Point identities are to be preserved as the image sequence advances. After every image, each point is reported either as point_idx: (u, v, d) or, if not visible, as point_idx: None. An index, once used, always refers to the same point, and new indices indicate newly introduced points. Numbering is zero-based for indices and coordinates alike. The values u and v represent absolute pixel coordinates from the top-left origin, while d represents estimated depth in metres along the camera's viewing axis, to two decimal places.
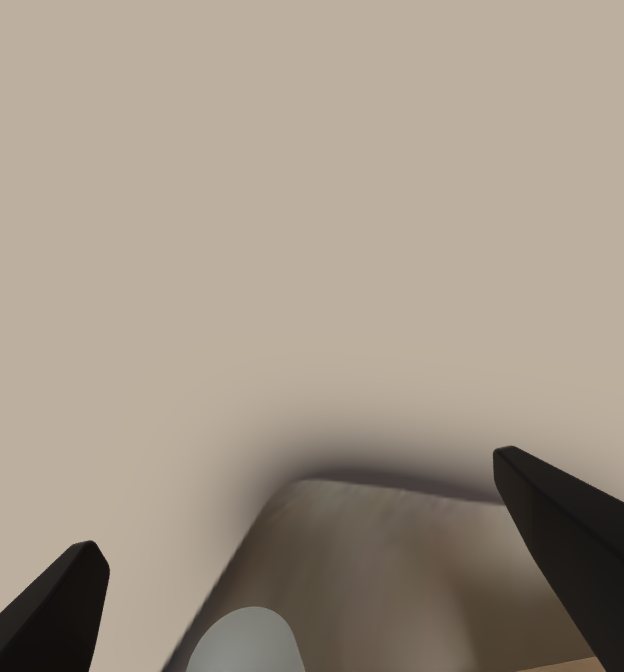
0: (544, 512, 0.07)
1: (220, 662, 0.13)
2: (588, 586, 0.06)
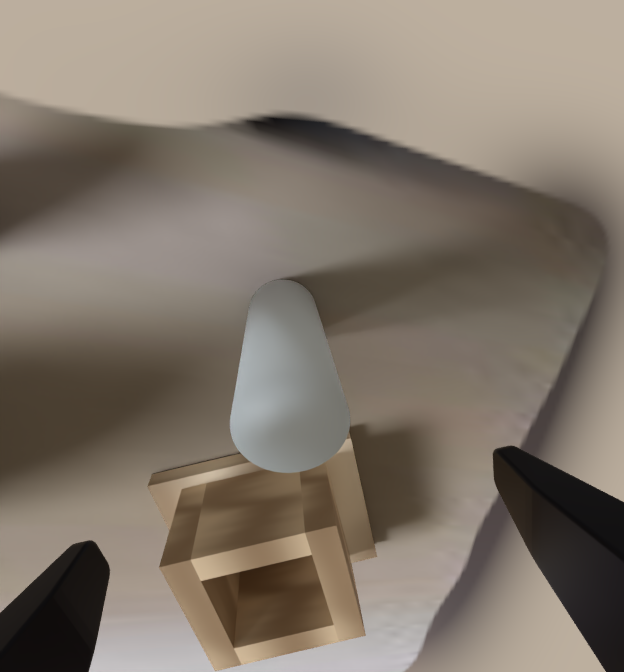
0: (544, 512, 0.07)
1: (292, 404, 0.11)
2: (588, 586, 0.06)
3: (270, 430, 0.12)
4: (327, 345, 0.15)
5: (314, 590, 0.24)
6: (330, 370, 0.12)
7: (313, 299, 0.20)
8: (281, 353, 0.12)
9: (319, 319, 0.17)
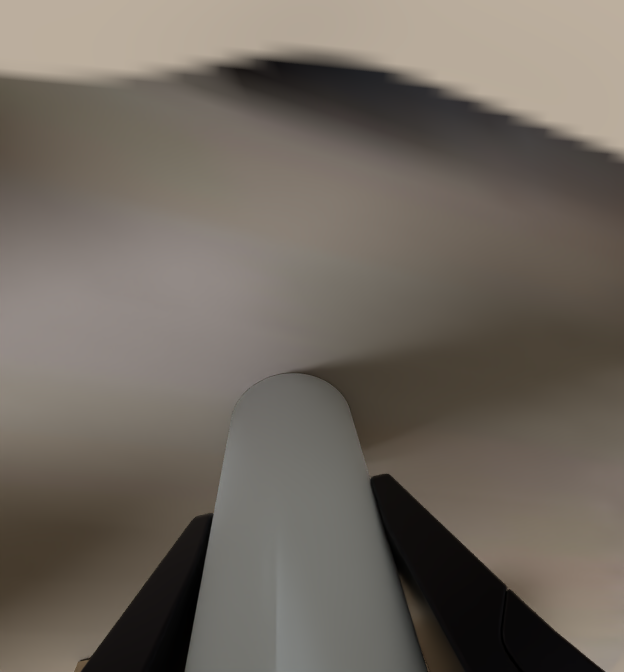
0: (393, 546, 0.07)
1: None
2: (421, 623, 0.06)
3: None
4: (415, 640, 0.06)
5: None
6: None
7: (348, 410, 0.11)
8: None
9: (371, 491, 0.08)
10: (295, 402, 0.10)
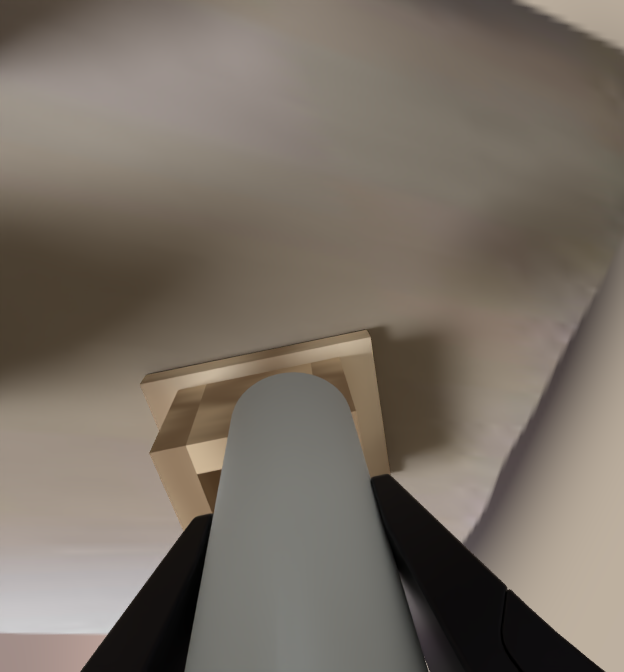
0: (393, 546, 0.07)
1: None
2: (421, 623, 0.06)
3: None
4: (415, 638, 0.06)
5: None
6: None
7: (348, 409, 0.11)
8: None
9: (372, 490, 0.08)
10: (295, 401, 0.10)
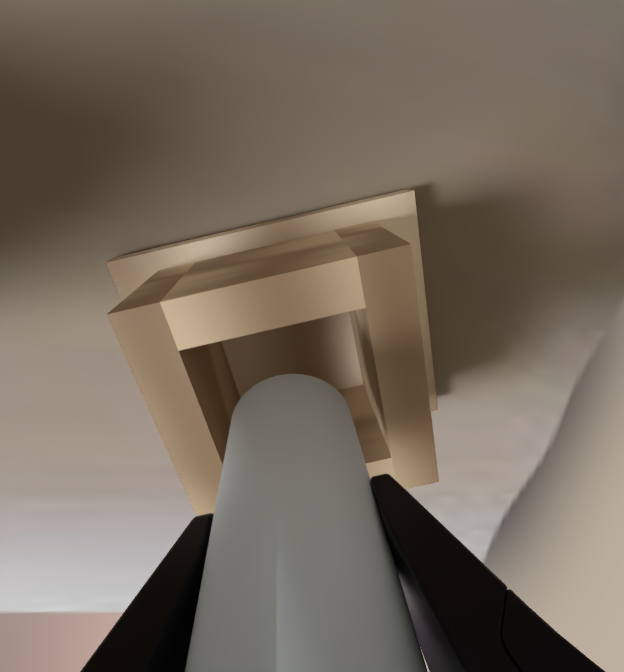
0: (393, 546, 0.07)
1: None
2: (421, 623, 0.06)
3: None
4: (415, 641, 0.06)
5: (355, 426, 0.16)
6: None
7: (348, 411, 0.11)
8: None
9: (371, 492, 0.08)
10: (295, 403, 0.10)
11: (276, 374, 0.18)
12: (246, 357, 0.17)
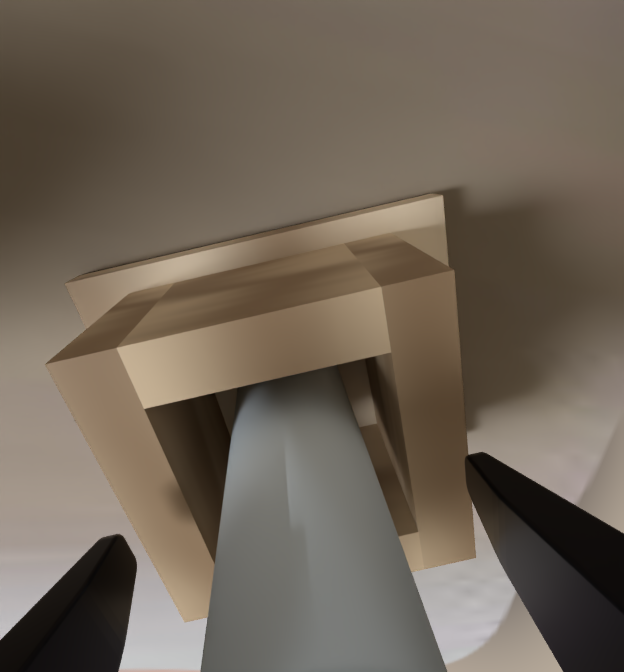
0: (509, 520, 0.07)
1: None
2: (549, 595, 0.06)
3: None
4: (378, 484, 0.08)
5: None
6: (409, 598, 0.06)
7: None
8: (304, 565, 0.06)
9: (351, 410, 0.11)
10: None
11: None
12: None
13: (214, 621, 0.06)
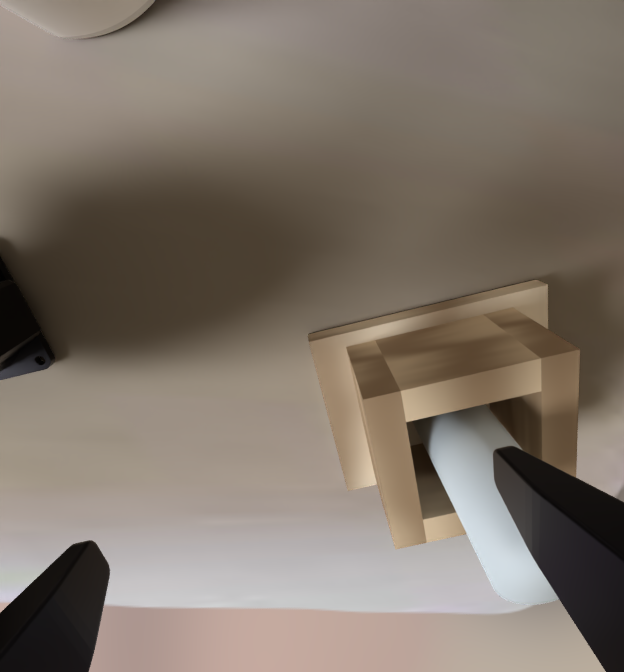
0: (544, 512, 0.07)
1: None
2: (588, 586, 0.06)
3: (526, 572, 0.13)
4: None
5: None
6: None
7: None
8: None
9: None
10: None
11: None
12: None
13: (485, 519, 0.13)
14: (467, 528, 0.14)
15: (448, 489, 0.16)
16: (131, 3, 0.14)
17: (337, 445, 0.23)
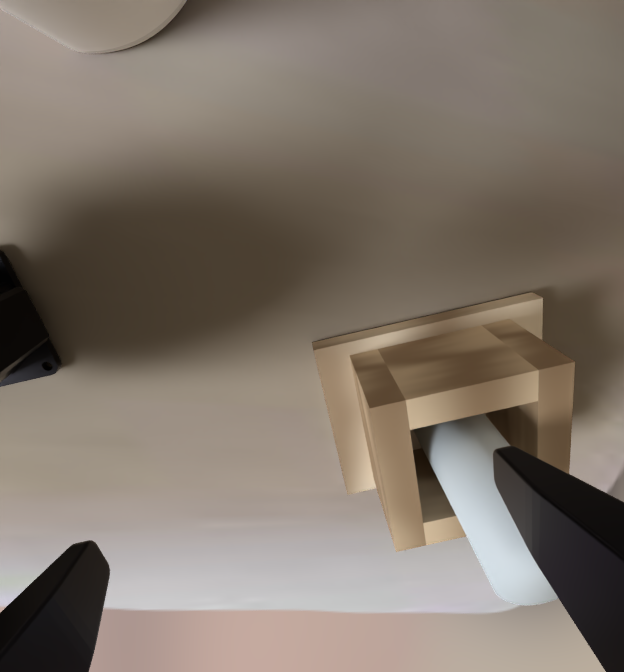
0: (544, 512, 0.07)
1: None
2: (588, 586, 0.06)
3: (525, 574, 0.13)
4: None
5: None
6: None
7: None
8: None
9: None
10: None
11: None
12: None
13: (486, 524, 0.14)
14: (468, 533, 0.15)
15: (449, 495, 0.17)
16: (150, 21, 0.15)
17: (338, 450, 0.23)
